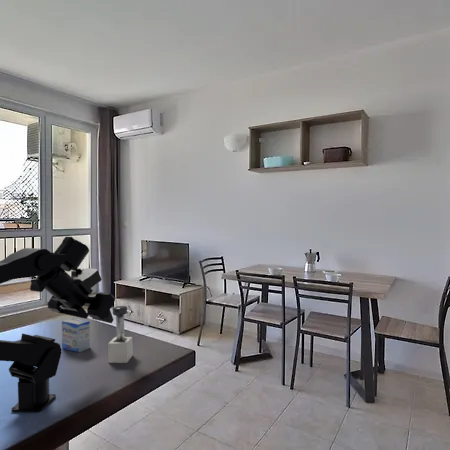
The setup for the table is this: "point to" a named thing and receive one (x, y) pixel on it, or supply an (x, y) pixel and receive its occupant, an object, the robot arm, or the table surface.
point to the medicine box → (75, 335)
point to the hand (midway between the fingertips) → (99, 319)
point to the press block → (120, 350)
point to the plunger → (120, 322)
